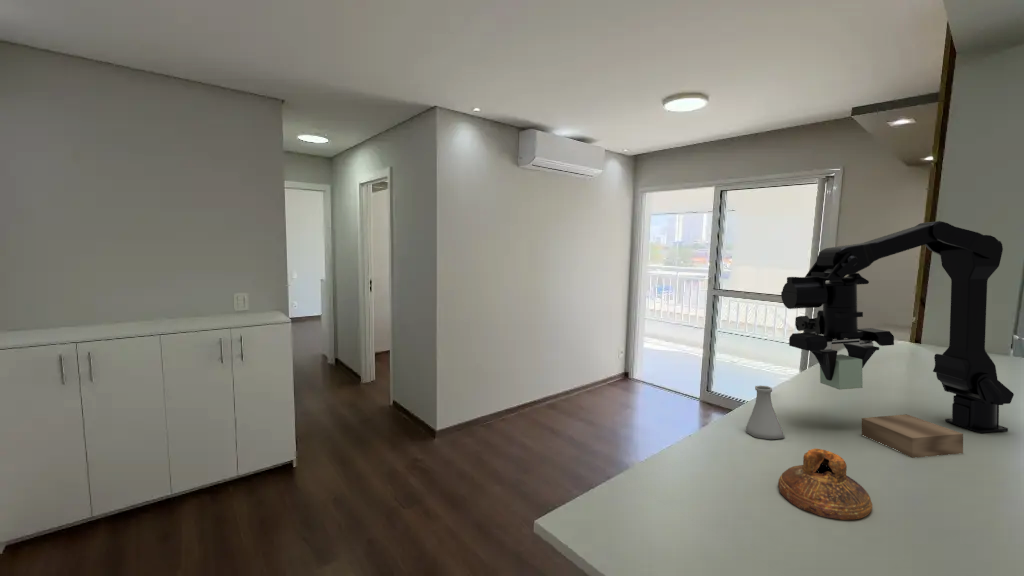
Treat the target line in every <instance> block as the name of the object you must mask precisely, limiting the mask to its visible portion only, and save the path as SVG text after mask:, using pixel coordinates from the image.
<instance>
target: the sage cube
mask: <svg viewBox="0 0 1024 576" xmlns="http://www.w3.org/2000/svg"><path fill="white" fill-rule="evenodd" d="M819 378H820V379H819V380H820V381H819V382H820V384H823V385H826V386H828V387H831V388H834V389H837V390H852V389H854V390H855V389H863V382H864V381H863V368H862V359H858V358H855V357H851V356H848V354H847V355H846V354H837V358H836V363H835V369H834V374H833V378H832V380H827V379H826V378H825V376H824V373H823V371H822V369H821V367H820V366H819Z"/></svg>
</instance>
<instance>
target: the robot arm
mask: <svg viewBox="0 0 1024 576" xmlns="http://www.w3.org/2000/svg"><path fill="white" fill-rule="evenodd" d="M921 246H925V247H926V248H927V249H928V251H930V252H932V253H934V254H937V255H939V256H940V261H941V266H942V268H943V270H944V271H945V272H946V273H947V275H948V277H949V278H950V279H951V280H950V281H951V284H950V316H949V317H950V318H949V346H948V348H947V349H946V350H945V351H944V352H943V353H941V354H940V353H935V354H934V357H933V359H934V368H933V370H932V372H933V373H936V374H935V375H936V378H937V380H938V381H939V382H940V383H941V385H942V387H943V390H944V392H947V393H951V394H954V395H953V401H952V402H953V403H952V405H951V408H952V410H951V412H952V413H951V416H952V417H951V418H945V419H944V421H945V422H947V423H949V424H953V425H955V426H958V427H961V428H965V429H967V430H970V431H972V432H976V433H980V434H983V433H997V432H1006V431H1009V427H1005V426H1003V425H1000V406H1003V405H1006V404H1007V405H1008V404H1009V405H1010V404H1011V403H1012V400H1013V398H1014V395H1015V394H1014V392H1012V391H1011V390H1010V389H1009V388H1008V387H1007V386H1005V385H1004V384H1003V383H1002V382H1001V381H1000V380H999V379H998V374H997V366H996V365H995V363H994V361H993V359H992V358H991V357H990V355H989V354H988V353H987V351H986V326H987V302H988V301H987V300H988V299H987V297H988V296H987V295H988V280H989V279H990V277H991V276H992V275H993V274H994V273H995V271H996V270H997V269H998V268H999V267H1000V263H1001V259H1002V255H1003V251H1004V248H1003V247H1004V246H1003V243H1002V241H1001V240H998V239H997V237H995V236H992V235H991V234H990V235H989V234H982V233H980V232H978V231H974V230H970V229H966V228H961V227H957V226H954V225H952V224H951V223H948V222H946V221H941V220H937V221H930V222H929V221H928V222H921V223H919V224H917V225H915V226H913V227H912V226H911V227H908V228H906V229H905V228H904V229H902V230H899V231H896V232H893V233H890V234H887V235H884V236H881V237H877V238H873V239H871V240H868V241H865V242H861V243H855V244H848V245H847V244H845V245H838V246H832V247H831V246H830V247H827V248H824V249H821V250H820V251H819V252H818V255H817V258H816V261H815V263H814V264H813V265H812V266H811V268H810V269H809V270H808V271H807V274H806V275H805V276H801V277H800V276H788V277H787V278H786V283H784V286H783V287H782V291H781V292H780V293H781V295H780V297H781V302H782V304H783V306H784V307H785V308H787V309H790V310H791V309H792V310H793V309H813V308H820V307H822V309H821V310H818V312H816V313H817V314H816V315H817V316H816V317H813V318H810V317H809V316H808V315H799V316H796V317H795V324H794V326H795V329H796V330H797V331H798V332H795V333H792V334H791V335H790V336H789V339H788V341H789V342H788V345H789V347H793V348H796V349H800V350H803V351H807V352H808V351H809V352H811V353H812V354H813V355H814V357H815V359H816V360H817V362H818V364H819V368H820V367H821V369H822V371H823V373H824V376H825V378H826V379H827V380H832V378H833V374H834V369H835V363H836V358H837V355H838V350H835V349H833V345H838V344H839V345H840V344H843V346H844V348H845V350H846V351H847V356H851V357H855V358H858V359H862V369H864V367H865V365H866V364H867V362H868V361H869V360H870V359H871V357H872V356H873V355H874V354H875V352H877V351H879V350H880V347H879V346H882V347H883V346H885V347H886V346H894V345H895V337H894V334H893V333H892V332H891V331H890V330H884V329H878V328H871V327H870V328H869V327H865V328H858V327H859V325H858V318H863V317H864V312H863V311H860V310H859V311H858V285H868V284H869V283H870V281H869V280H868V279H866V278H865V277H863V276H862V275H861V274H860V273H859V272H860V271H862V270H864V269H866V268H869V267H870V266H871V265H872V264H873V263H874V262H876V261H878V260H879V259H884V258H886V257H890V256H893V255H896V254H899V253H903V252H905V251H909V250H912V249H915V248H918V247H921ZM827 281H828V282H827ZM802 331H803V332H802ZM874 342H875V343H876V344H878V345H879V346H876V345H875V346H874Z"/></svg>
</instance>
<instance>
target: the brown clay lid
mask: <svg viewBox="0 0 1024 576" xmlns="http://www.w3.org/2000/svg"><path fill="white" fill-rule="evenodd" d="M802 459H803V460H802V461H803V464H801V465H800V464H799V465H794V466H791V467H789V468H788V469H786V470H785V471H784V472H782V474H781V475H780V476H779V478H778V483H777V484H778V488H779V492H780V494H781V495H782V496H783V497H784V498H785V499H786V501H788V502H790V503H791V504H793V505H794V506H796V508H799V509H800V510H803V511H805V512H806V511H807V512H810V513H813V514H815V515H817V516H820V517H824V518H828V519H835V520H845V521H848V520H859V519H863V518H865V517H867V516H869V514H870V513H871V512H872V510H873V503H872V500H871V497H870V495H869V493H868V492H867V490H866V489H865V488H864V487H863V486H862V485H861V484H860V483H858V482H857V481H856V480H855V479H853V478H852V477H850V476H849V475H847V468H848V467H847V462H846V460H845V459H844V458H843V457H841V456H840V455H838V454H836V453H835V452H832V451H829V450H827V449H821V448H811V449H809V450H808V451H807V452H805V453H804V455H803V458H802Z"/></svg>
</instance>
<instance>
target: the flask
mask: <svg viewBox="0 0 1024 576" xmlns="http://www.w3.org/2000/svg"><path fill="white" fill-rule="evenodd" d="M754 388H755V389H754V390H755V391H756V399H755V403H754V405H753V408H752V411H751V414H750V416H749V418H748V421H747V423H746V425H745V433H747V434H749V435H750V436H752V437H754V438H759V439H767V440H777V439H785V435H784V432H783V429H782V427H781V423H780V421H779V418H778V417H777V414H776V412H775V409H774V406H773V402H772V397H771V395H772V392H773V387H771V386H768V385H755V386H754Z"/></svg>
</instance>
